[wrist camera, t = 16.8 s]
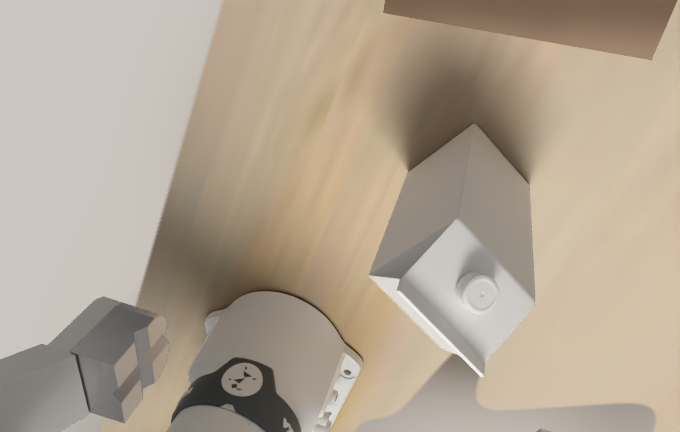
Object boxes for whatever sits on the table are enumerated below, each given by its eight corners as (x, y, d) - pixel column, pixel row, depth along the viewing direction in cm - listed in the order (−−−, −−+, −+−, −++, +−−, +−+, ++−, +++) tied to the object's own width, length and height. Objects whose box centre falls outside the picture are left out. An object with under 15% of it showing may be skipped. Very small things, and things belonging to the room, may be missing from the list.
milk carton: (460, 229, 46) (433, 397, 31) (407, 171, 45) (350, 318, 29) (530, 185, 43) (539, 353, 27) (474, 121, 41) (450, 259, 26)
